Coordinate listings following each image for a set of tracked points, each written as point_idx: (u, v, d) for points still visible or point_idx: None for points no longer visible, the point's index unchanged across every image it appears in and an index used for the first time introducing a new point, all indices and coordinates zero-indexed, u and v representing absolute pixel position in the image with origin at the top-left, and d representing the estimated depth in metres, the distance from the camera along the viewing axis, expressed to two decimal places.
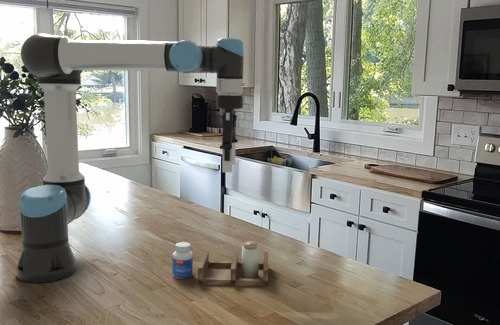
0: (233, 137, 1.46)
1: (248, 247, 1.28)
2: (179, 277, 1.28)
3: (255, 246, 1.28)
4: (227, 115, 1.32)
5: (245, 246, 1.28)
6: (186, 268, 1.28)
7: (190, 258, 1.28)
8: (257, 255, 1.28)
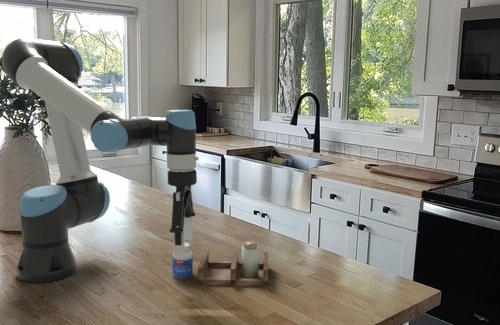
0: (189, 211, 1.34)
1: (248, 247, 1.28)
2: (179, 277, 1.28)
3: (255, 246, 1.28)
4: (177, 196, 1.20)
5: (245, 246, 1.28)
6: (186, 268, 1.28)
7: (190, 258, 1.28)
8: (257, 255, 1.28)
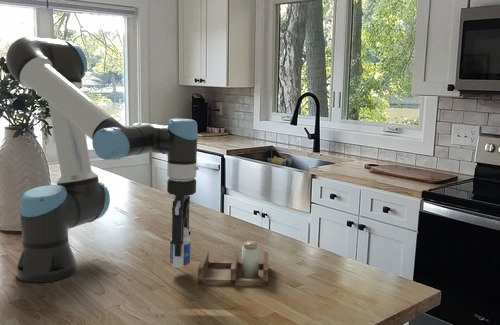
0: None
1: (248, 247, 1.28)
2: None
3: (255, 246, 1.28)
4: (176, 211, 1.21)
5: (245, 246, 1.28)
6: None
7: (188, 243, 1.28)
8: (257, 255, 1.28)
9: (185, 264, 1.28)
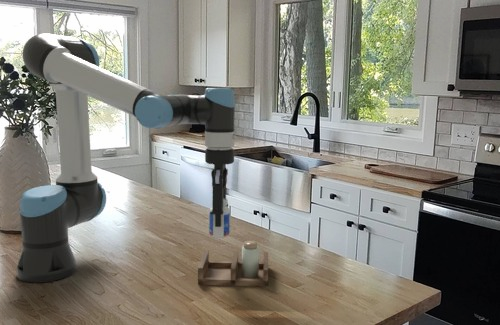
0: None
1: (248, 247, 1.28)
2: None
3: (255, 246, 1.28)
4: (217, 180, 1.20)
5: (245, 246, 1.28)
6: None
7: (228, 213, 1.27)
8: (257, 255, 1.28)
9: (225, 234, 1.27)
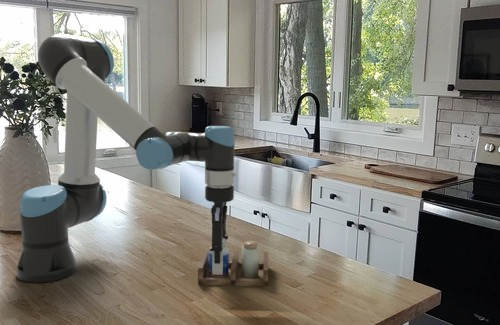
0: (223, 232, 1.33)
1: (248, 247, 1.28)
2: None
3: (255, 246, 1.28)
4: (216, 217, 1.21)
5: (245, 246, 1.28)
6: (223, 263, 1.28)
7: (227, 253, 1.29)
8: (257, 255, 1.28)
9: (224, 274, 1.29)
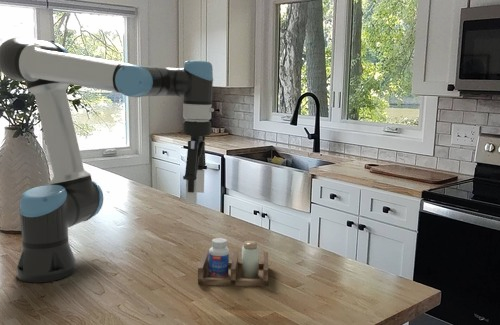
0: (202, 164, 1.37)
1: (248, 247, 1.28)
2: (216, 273, 1.28)
3: (255, 246, 1.28)
4: (192, 144, 1.23)
5: (245, 246, 1.28)
6: (223, 264, 1.28)
7: (227, 254, 1.28)
8: (257, 255, 1.28)
9: (224, 275, 1.29)
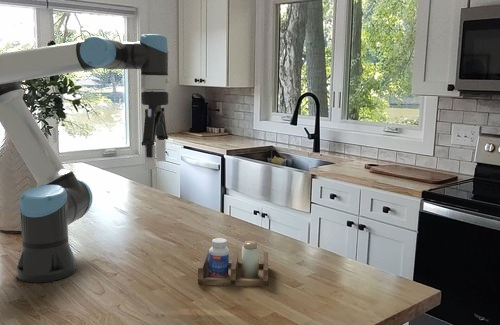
0: (162, 134, 1.45)
1: (248, 247, 1.28)
2: (216, 273, 1.28)
3: (255, 246, 1.28)
4: (149, 112, 1.31)
5: (245, 246, 1.28)
6: (223, 264, 1.28)
7: (227, 254, 1.28)
8: (257, 255, 1.28)
9: (224, 275, 1.29)
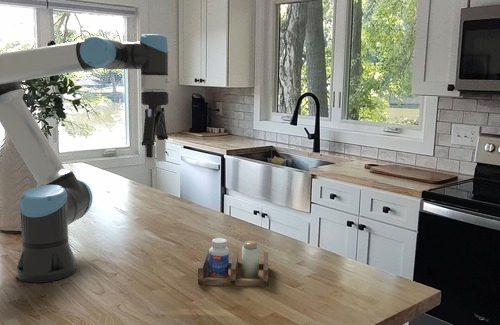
0: (162, 134, 1.45)
1: (248, 247, 1.28)
2: (216, 273, 1.28)
3: (255, 246, 1.28)
4: (149, 112, 1.31)
5: (245, 246, 1.28)
6: (223, 264, 1.28)
7: (227, 254, 1.28)
8: (257, 255, 1.28)
9: (224, 275, 1.29)
